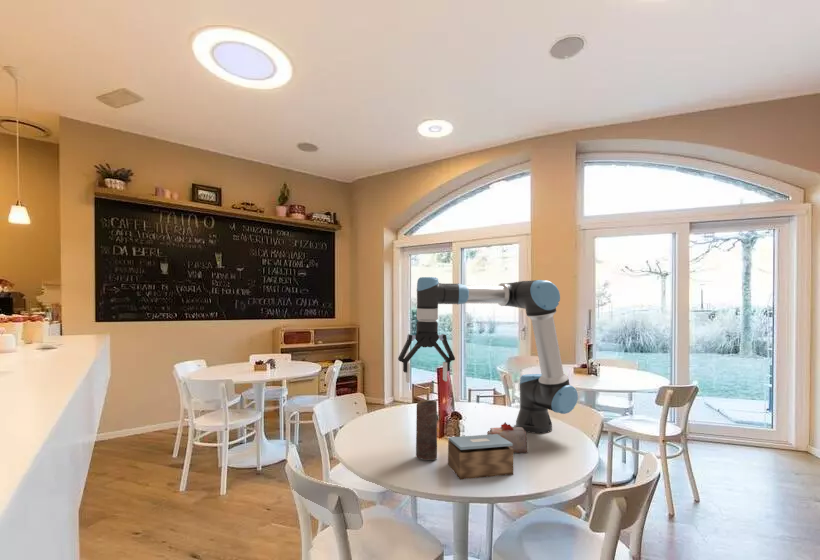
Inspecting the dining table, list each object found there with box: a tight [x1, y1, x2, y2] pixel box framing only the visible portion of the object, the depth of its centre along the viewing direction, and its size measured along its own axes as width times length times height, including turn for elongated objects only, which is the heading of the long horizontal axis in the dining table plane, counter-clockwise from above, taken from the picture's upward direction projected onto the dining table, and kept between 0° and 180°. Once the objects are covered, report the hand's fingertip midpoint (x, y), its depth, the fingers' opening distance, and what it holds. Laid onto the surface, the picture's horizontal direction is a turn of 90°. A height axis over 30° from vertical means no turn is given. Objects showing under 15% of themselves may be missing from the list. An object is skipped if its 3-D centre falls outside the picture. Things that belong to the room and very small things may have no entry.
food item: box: [486, 422, 528, 454], centre depth 153 cm, size 14×8×10 cm, turn 93°
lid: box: [448, 434, 513, 450], centre depth 136 cm, size 18×12×1 cm
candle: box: [415, 399, 438, 461], centre depth 144 cm, size 8×7×20 cm
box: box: [447, 439, 514, 481], centre depth 136 cm, size 18×12×8 cm, turn 103°
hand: (426, 381), depth 145 cm, fingers open, 13 cm apart
